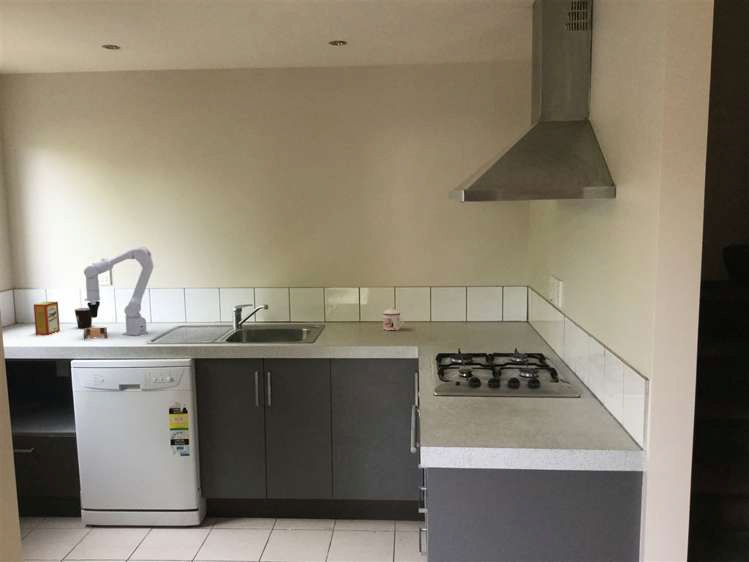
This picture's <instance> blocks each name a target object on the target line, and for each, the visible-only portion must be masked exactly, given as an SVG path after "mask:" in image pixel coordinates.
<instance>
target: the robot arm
mask: <svg viewBox="0 0 749 562" xmlns="http://www.w3.org/2000/svg"><path fill="white" fill-rule="evenodd" d="M126 260H136V262H138V263H139V265H140V266H141V268H142V269H141V271H140V274H139V277H138V279H137V283H136V284H135V287H134V290H133V293H132V295H131V298H130V299H129V302H128V304H127V305H126V306H125V307H124V313H125V329H126V331H125V332H123V333H122V335H126V336H127V335H129V336H140V335H144V334H147V333H148V331H147V320H146V318H144V317H142V314H141V313H140V312H141V310H142V307H141V304H142V300H143V297H144V294H145V291H146V288H147V286H148V283H149V280H150V278H151V275H152V272H153V270H154V261H153V258H152V253H151V251H149V249H148V248H147V247H145V246H140V247H137V248H134V249H131V250H127V251H125V252H123V253H121V254H119V255H117V256H115V257H113V258H101V259H100V261H98V262H96V263H95V262H93V263H92V264H91V265H89V266H87V267H85V269H84V270H83V274H84V276H85V288H86V298H84V301H86V302H87V304H86V305H87V308H89V309H90V311H91V315H92V319H94V318H96V319H97V318H98V313H99V307H100V305H101V303H100V302H101V301H100V300H101V297H100V285H99V284H100V283H99V275H102V274H104V273H106V272H108V271H110V270H112V269H113V268H114V265H117V264H119V263H122V262H123V261H126Z"/></svg>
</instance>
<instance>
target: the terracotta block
mask: <svg viewBox="0 0 749 562" xmlns="http://www.w3.org/2000/svg"><path fill="white" fill-rule="evenodd" d="M100 328H101V327H91V328H89V329H90V334H91V335H90V339H95V338H94V337H101V336H102V334H100Z"/></svg>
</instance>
